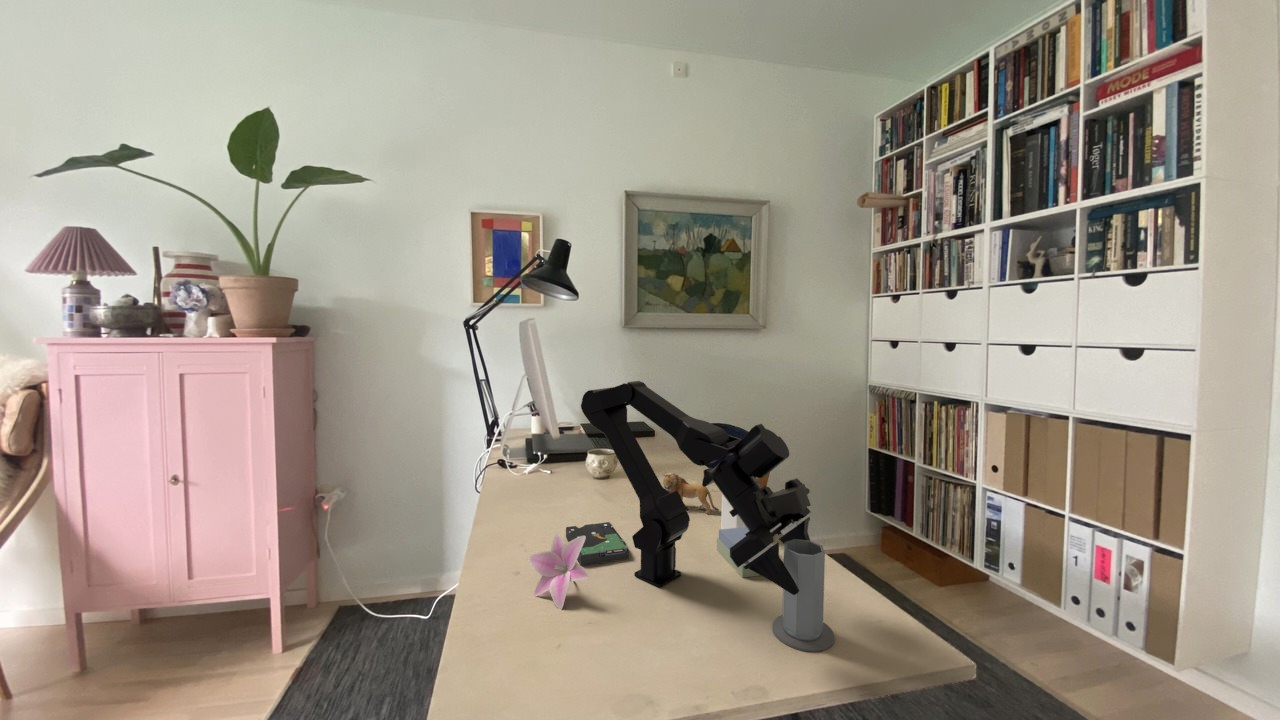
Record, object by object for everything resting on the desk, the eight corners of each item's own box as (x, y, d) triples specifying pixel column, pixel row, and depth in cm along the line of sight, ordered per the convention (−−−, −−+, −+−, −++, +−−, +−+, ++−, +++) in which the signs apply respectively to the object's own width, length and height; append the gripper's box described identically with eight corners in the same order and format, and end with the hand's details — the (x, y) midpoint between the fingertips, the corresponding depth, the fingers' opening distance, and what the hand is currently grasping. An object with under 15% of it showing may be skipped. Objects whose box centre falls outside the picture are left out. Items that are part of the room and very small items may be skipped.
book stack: (780, 572, 95) (781, 550, 94) (742, 577, 93) (742, 554, 92) (751, 546, 106) (751, 526, 106) (716, 549, 104) (717, 529, 104)
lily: (527, 583, 92) (511, 550, 87) (582, 548, 97) (570, 515, 92) (553, 634, 83) (537, 600, 78) (612, 592, 87) (601, 558, 82)
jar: (766, 532, 114) (768, 481, 113) (744, 542, 108) (745, 488, 108) (736, 520, 120) (737, 472, 120) (713, 529, 115) (714, 478, 115)
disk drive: (564, 539, 110) (580, 568, 96) (564, 526, 110) (580, 554, 96) (609, 533, 114) (630, 560, 100) (609, 521, 114) (630, 547, 100)
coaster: (819, 660, 70) (819, 657, 70) (761, 633, 76) (761, 630, 76) (843, 632, 76) (843, 629, 76) (788, 609, 82) (788, 607, 82)
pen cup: (805, 646, 72) (807, 559, 71) (774, 626, 77) (776, 545, 76) (829, 633, 75) (831, 549, 74) (798, 615, 80) (800, 536, 79)
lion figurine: (660, 509, 128) (660, 474, 127) (665, 502, 133) (665, 469, 132) (717, 516, 123) (718, 480, 123) (720, 508, 129) (720, 474, 128)
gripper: (751, 479, 70) (827, 580, 64) (800, 454, 85) (866, 534, 78) (702, 519, 75) (768, 617, 69) (756, 489, 90) (815, 567, 84)
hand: (808, 580), depth 75 cm, fingers open, 9 cm apart
